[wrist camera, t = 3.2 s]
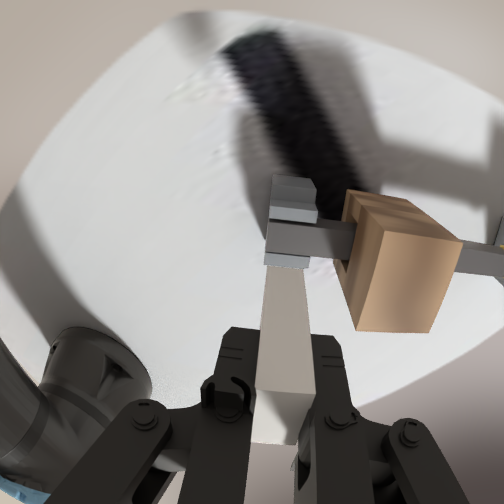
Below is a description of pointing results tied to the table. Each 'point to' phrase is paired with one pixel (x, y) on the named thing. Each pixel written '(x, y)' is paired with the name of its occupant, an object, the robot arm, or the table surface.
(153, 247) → the table surface
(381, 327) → the wooden block on rod
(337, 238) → the rod rig
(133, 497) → the robot arm
